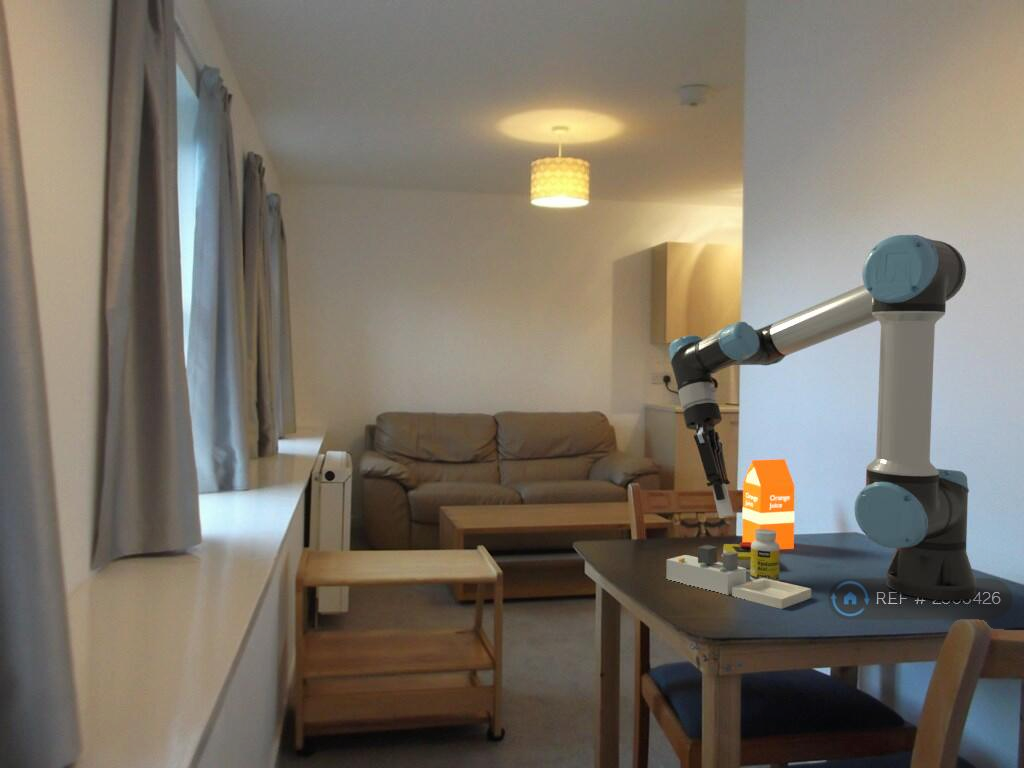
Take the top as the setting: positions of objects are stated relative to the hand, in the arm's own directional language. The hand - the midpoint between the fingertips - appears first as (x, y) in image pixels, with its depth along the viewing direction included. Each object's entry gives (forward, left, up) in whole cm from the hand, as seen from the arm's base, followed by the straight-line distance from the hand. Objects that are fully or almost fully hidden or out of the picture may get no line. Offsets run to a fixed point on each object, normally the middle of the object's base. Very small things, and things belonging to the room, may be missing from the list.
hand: (726, 516), depth 170 cm
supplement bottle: (-8, -1, -12) cm, 14 cm away
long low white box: (-2, +10, -11) cm, 16 cm away
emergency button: (+1, -11, -12) cm, 16 cm away
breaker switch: (-3, +10, -7) cm, 13 cm away
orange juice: (+8, -28, -12) cm, 31 cm away
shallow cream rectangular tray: (-15, +8, -11) cm, 21 cm away
